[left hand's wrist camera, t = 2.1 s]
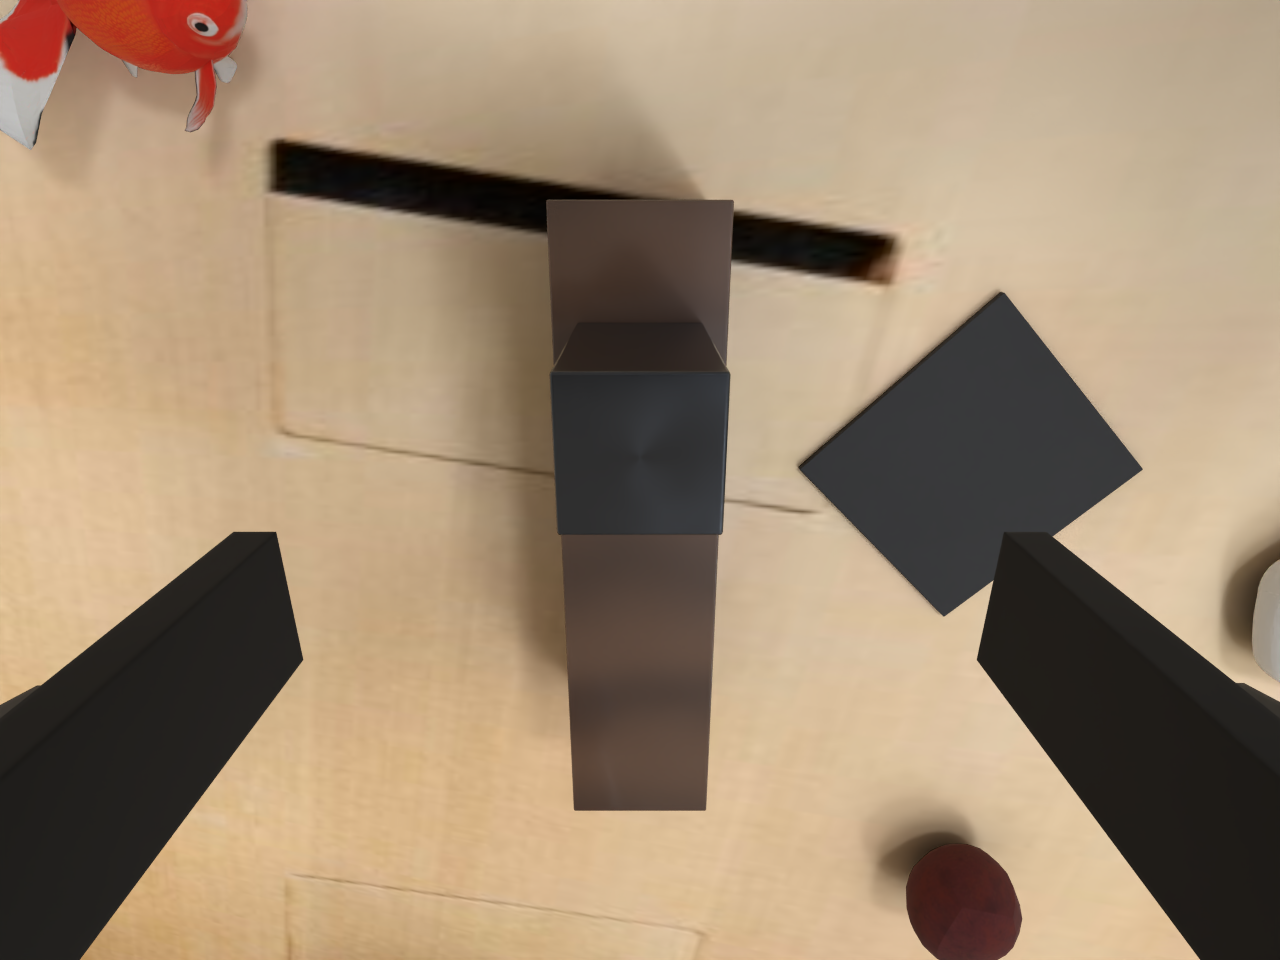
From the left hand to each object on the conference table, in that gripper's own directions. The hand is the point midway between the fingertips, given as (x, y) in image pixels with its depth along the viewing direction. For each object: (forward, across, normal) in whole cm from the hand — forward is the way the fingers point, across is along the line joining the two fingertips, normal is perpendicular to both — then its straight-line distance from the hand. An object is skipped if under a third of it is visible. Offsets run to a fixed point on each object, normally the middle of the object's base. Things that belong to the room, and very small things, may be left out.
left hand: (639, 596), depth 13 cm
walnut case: (+27, 0, -8) cm, 28 cm away
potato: (+27, +22, -38) cm, 52 cm away
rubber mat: (+27, +19, -7) cm, 34 cm away
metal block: (+17, 0, 0) cm, 17 cm away
